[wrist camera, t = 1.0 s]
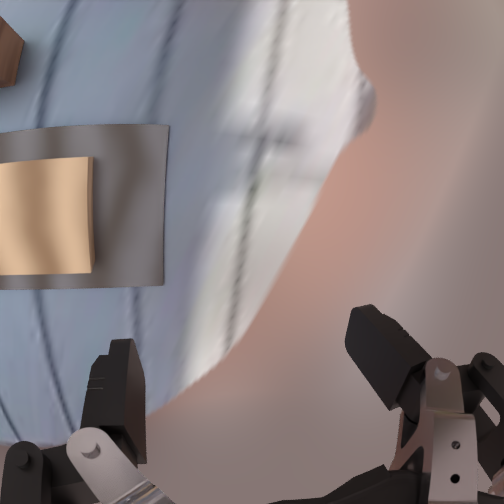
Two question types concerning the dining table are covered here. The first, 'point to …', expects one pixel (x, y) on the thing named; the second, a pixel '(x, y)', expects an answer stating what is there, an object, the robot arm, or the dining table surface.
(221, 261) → the dining table surface
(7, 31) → the pillar
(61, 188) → the plinth
